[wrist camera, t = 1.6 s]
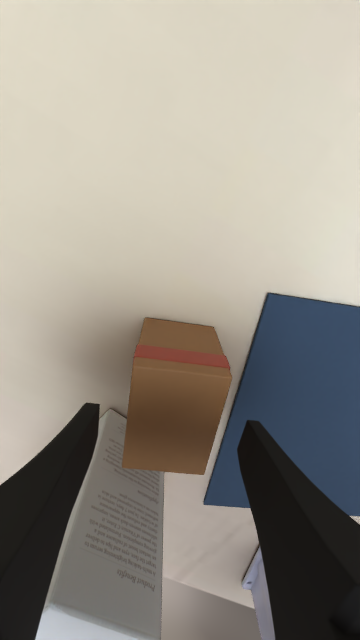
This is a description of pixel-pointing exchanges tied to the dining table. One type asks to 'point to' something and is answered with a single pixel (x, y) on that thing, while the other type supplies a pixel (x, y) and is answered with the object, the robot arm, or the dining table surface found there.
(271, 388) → the napkin
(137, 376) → the packet
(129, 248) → the dining table surface
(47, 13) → the dining table surface
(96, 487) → the small box
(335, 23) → the dining table surface
